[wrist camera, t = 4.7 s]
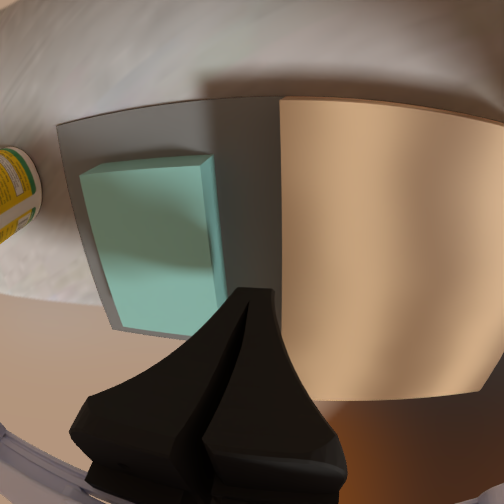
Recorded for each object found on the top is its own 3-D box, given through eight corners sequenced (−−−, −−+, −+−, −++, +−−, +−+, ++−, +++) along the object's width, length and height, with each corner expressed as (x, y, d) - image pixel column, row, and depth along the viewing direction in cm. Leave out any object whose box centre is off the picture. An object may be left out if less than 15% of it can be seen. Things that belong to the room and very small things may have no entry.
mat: (286, 96, 12) (285, 96, 12) (286, 345, 19) (285, 349, 19) (59, 125, 14) (56, 126, 14) (114, 326, 21) (112, 329, 21)
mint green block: (79, 175, 13) (101, 163, 15) (123, 326, 17) (136, 305, 19) (199, 165, 12) (213, 154, 14) (222, 339, 16) (229, 314, 18)
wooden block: (523, 128, 10) (572, 148, 7) (462, 344, 17) (479, 390, 14) (286, 96, 12) (279, 100, 9) (286, 345, 19) (279, 398, 16)
